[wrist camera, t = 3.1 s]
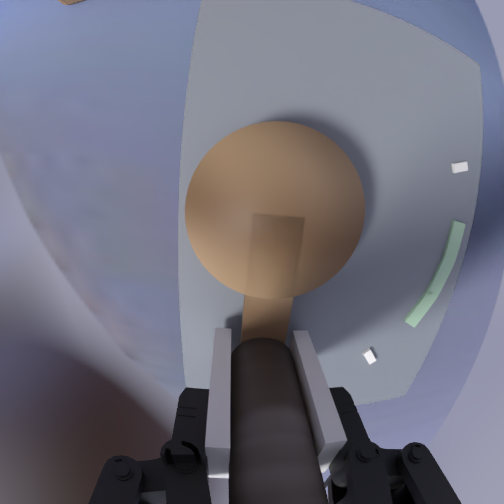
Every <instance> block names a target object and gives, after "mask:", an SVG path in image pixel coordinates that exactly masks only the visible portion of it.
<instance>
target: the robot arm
mask: <svg viewBox="0 0 504 504" xmlns="http://www.w3.org/2000/svg"><path fill="white" fill-rule="evenodd" d="M289 349H290V351H291V354H292V358H293V362H294V366H295V370H296V374H297V377H298V381H299V385H300V389H301V393H302V397H303V401H304V405H305V409H306V413H307V417H308V421H309V425H310V429H311V433H312V437H313V441H314V445H315V449H316V453H317V457H318V461H319V465H320V469H321V473H323V472H325V471H326V470H327V468H328V467H329V470H330V473H331V475H330V476H329V477H328V479H327V480H326V481H325V482H324V486H325V488H326V487H327V486H328V499H329V504H461V502H460V500H459V499H458V497H457V495H456V494H455V492H454V490H453V488H452V487H451V485H450V483H449V482H448V480H447V479H446V477H445V476H444V474H443V472H442V470H441V469H440V467H439V466H438V464H437V462H436V461H435V459H434V458H433V456H432V454H431V453H430V451H429V450H428V448H427V447H426V446H425V445H423V444H421V443H416V442H413V443H409V444H408V445H406V446H405V447H404V448H403V449H383V448H380V447H379V446H378V445H377V444H375V443H373V442H371V441H370V439H369V438H368V435H367V433H366V430H365V428H364V425H363V423H362V421H361V418H360V416H359V413H357V409H356V406H355V405H354V401H353V399H352V397H351V394H350V393H349V392H348V391H347V390H346V389H345V388H344V387H333V388H329V387H328V384H327V381H326V379H325V376H324V373H323V370H322V368H321V365H320V362H319V360H318V357H317V354H316V351H315V349H314V346H313V343H312V341H311V338H310V335H309V333H308V330H293V332H292V337H291V342H290V347H289ZM230 382H231V329H229V328H215V337H214V346H213V357H212V367H211V378H210V389H200V388H189V387H186V388H185V390H184V391H183V392H182V393H181V395H180V396H179V402H178V408H177V413H176V419H175V424H174V429H173V435H172V440H170V441H168V442H166V443H165V444H164V446H163V447H162V448H161V453H160V455H161V457H160V458H158V459H154V460H148V461H135V460H134V459H132V458H130V457H128V456H122V455H120V456H114V457H112V458H110V459H108V460H107V462H106V463H105V465H104V467H103V469H102V472H101V475H100V477H99V479H98V481H97V484H96V486H95V489H94V491H93V494H92V497H91V499H90V502H89V504H159V503H166V504H212V503H211V497H210V491H209V485H208V477H213V478H215V477H216V478H229V462H230Z"/></svg>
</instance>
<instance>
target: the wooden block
mask: <svg viewBox="0 0 504 504" xmlns="http://www.w3.org/2000/svg"><path fill="white" fill-rule="evenodd" d="M58 1H60V2H61V3H62V4H64V5H72V4H75V3H78V2H81V1H84V0H58Z"/></svg>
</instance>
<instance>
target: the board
mask: <svg viewBox="0 0 504 504" xmlns="http://www.w3.org/2000/svg"><path fill="white" fill-rule="evenodd" d="M270 121H283V122H292V123H297V124H301V125H304V126H307V127H310V128H313V129H315V130H316V131H318V132H320V133H322V134H324V135H325V136H327V137H328V138H330V139H331V140H332V141H334V142H335V143H336V144H337V145H338V146H339V147H340V148H341V149H342V150H343V151H344V152H345V154H346V155H347V156H348V157H349V159H350V160H351V162H352V164H353V165H354V167H355V169H356V171H357V173H358V175H359V178H360V180H361V184H362V187H363V192H364V199H365V218H364V225H363V229H362V233H361V237H360V239H359V242H358V244H357V246H356V248H355V250H354V252H353V254H352V256H351V257H350V259H349V260H348V261H347V263H346V264H345V265H344V266H343V268H342V269H341V270H340V271H339V272H338V273H337V274H336V275H335V276H334V277H332V278H331V279H330V280H329V281H327V282H326V283H324V284H323V285H321V286H320V287H318V288H316V289H314V290H312V291H310V292H307V293H305V294H302V295H298V296H294V297H293V303H292V308H291V314H290V320H289V325H288V330H287V336H286V341H285V345H286V346H287V347H288V348H289V347H290V342H291V337H292V332H293V330H308V333H309V335H310V338H311V341H312V343H313V346H314V349H315V351H316V354H317V357H318V360H319V362H320V365H321V368H322V370H323V373H324V376H325V379H326V381H327V384H328V387H329V388H333V387H344V388H345V389H346V390H347V391H348V392H349V393H350V394H351V397H352V399H353V401H354V405H361V404H367V403H373V402H379V401H384V400H389V399H393V398H398V397H402V396H405V394H406V392H407V391H408V389H409V387H410V385H411V384H412V382H413V380H414V378H415V377H416V375H417V373H418V371H419V369H420V367H421V365H422V363H423V362H424V360H425V358H426V356H427V354H428V352H429V349H430V347H431V345H432V343H433V341H434V339H435V337H436V334H437V332H438V330H439V328H440V325H441V323H442V320H443V318H444V316H445V313H446V310H447V308H448V305H449V303H450V300H451V297H452V294H453V292H454V289H455V286H456V283H457V280H458V277H459V273H460V270H461V267H462V263H463V260H464V256H465V253H466V249H467V245H468V241H469V237H470V232H471V228H472V223H473V218H474V213H475V208H476V202H477V195H478V188H479V181H480V172H481V161H482V146H483V99H482V84H481V74H480V66H479V64H478V63H477V62H475V61H474V60H472V59H471V58H469V57H468V56H466V55H465V54H463V53H462V52H460V51H459V50H457V49H456V48H454V47H452V46H451V45H449V44H447V43H446V42H444V41H442V40H441V39H439V38H437V37H435V36H433V35H432V34H430V33H428V32H426V31H424V30H422V29H420V28H418V27H416V26H414V25H412V24H410V23H408V22H405V21H403V20H401V19H399V18H396V17H394V16H392V15H389V14H387V13H384V12H382V11H379V10H376V9H374V8H371V7H368V6H365V5H362V4H359V3H356V2H353V1H350V0H201V4H200V9H199V14H198V19H197V24H196V30H195V36H194V42H193V48H192V54H191V61H190V68H189V76H188V84H187V92H186V101H185V111H184V121H183V133H182V146H181V162H180V181H179V212H178V272H179V303H180V322H181V338H182V351H183V363H184V374H185V384H186V387H189V388H200V389H210V378H211V367H212V357H213V346H214V337H215V328H229V329H231V353H232V352H233V350H234V349H235V348H236V347H237V346H238V345H239V344H240V341H241V328H242V316H243V303H244V294H242V293H239V292H237V291H235V290H233V289H231V288H229V287H227V286H225V285H224V284H223V283H221V282H220V281H218V280H217V279H216V278H215V277H214V276H212V275H211V274H210V273H209V272H208V271H207V269H206V268H205V267H204V266H203V265H202V263H201V262H200V260H199V259H198V257H197V256H196V254H195V252H194V250H193V248H192V246H191V243H190V240H189V237H188V234H187V229H186V223H185V201H186V195H187V190H188V186H189V183H190V181H191V178H192V176H193V173H194V172H195V170H196V168H197V166H198V164H199V163H200V161H201V160H202V159H203V157H204V156H205V155H206V153H207V152H208V151H209V150H210V149H211V148H212V147H213V146H214V145H215V144H216V143H218V142H219V141H220V140H222V139H223V138H224V137H226V136H227V135H229V134H231V133H233V132H234V131H236V130H238V129H241V128H243V127H246V126H249V125H252V124H257V123H261V122H270Z"/></svg>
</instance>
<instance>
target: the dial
mask: <svg viewBox="0 0 504 504" xmlns="http://www.w3.org/2000/svg"><path fill="white" fill-rule="evenodd" d="M364 218H365V199H364V192H363V187H362V184H361V180H360V178H359V175H358V173H357V171H356V169H355V167H354V165H353V164H352V162H351V160H350V159H349V157H348V156H347V155H346V154H345V152H344V151H343V150H342V149H341V148H340V147H339V146H338V145H337V144H336V143H335V142H334V141H332V140H331V139H330V138H328V137H327V136H325V135H324V134H322V133H320V132H318V131H316V130H315V129H313V128H310V127H307V126H304V125H301V124H297V123H292V122H283V121H270V122H261V123H257V124H252V125H249V126H246V127H243V128H241V129H238V130H236V131H234V132H233V133H231V134H229V135H227V136H226V137H224V138H223V139H222V140H220V141H219V142H218V143H216V144H215V145H214V146H213V147H212V148H211V149H210V150H209V151H208V152H207V153H206V155H205V156H204V157H203V159H202V160H201V161H200V163H199V164H198V166H197V168H196V170H195V172H194V173H193V176H192V178H191V181H190V183H189V186H188V190H187V195H186V201H185V223H186V229H187V234H188V237H189V240H190V243H191V246H192V248H193V250H194V252H195V254H196V256H197V257H198V259H199V260H200V262H201V263H202V265H203V266H204V267H205V268H206V269H207V271H208V272H209V273H210V274H211V275H212V276H214V277H215V278H216V279H217V280H218V281H220V282H221V283H223V284H224V285H225V286H227V287H229V288H231V289H233V290H235V291H237V292H239V293H242V294H244V303H243V316H242V328H241V341H240V344H239V345H238V346H237V347H236V348H235V349H234V350H233V352H232V353H231V382H230V462H229V504H329V503H328V499H327V494H326V490H325V486H324V482H323V478H322V473H321V469H320V465H319V461H318V457H317V453H316V449H315V445H314V441H313V437H312V433H311V429H310V425H309V421H308V417H307V413H306V409H305V405H304V401H303V397H302V393H301V389H300V385H299V381H298V377H297V374H296V370H295V366H294V362H293V358H292V354H291V351H290V349H289V348H288V347H287V346H286V345H285V341H286V336H287V330H288V325H289V320H290V314H291V308H292V303H293V297H294V296H298V295H302V294H305V293H307V292H310V291H312V290H314V289H316V288H318V287H320V286H321V285H323V284H324V283H326V282H327V281H329V280H330V279H331V278H332V277H334V276H335V275H336V274H337V273H338V272H339V271H340V270H341V269H342V268H343V266H344V265H345V264H346V263H347V261H348V260H349V259H350V257H351V256H352V254H353V252H354V250H355V248H356V246H357V244H358V242H359V239H360V237H361V233H362V229H363V225H364Z"/></svg>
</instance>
